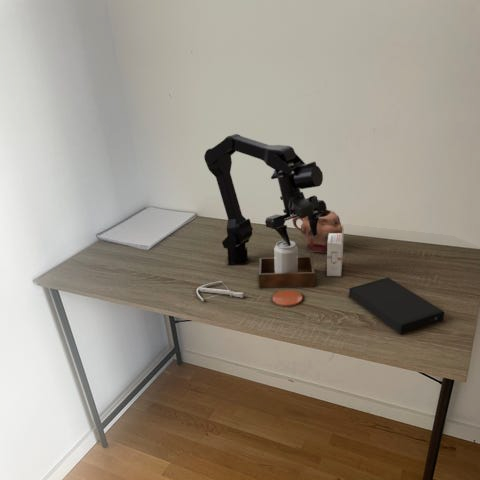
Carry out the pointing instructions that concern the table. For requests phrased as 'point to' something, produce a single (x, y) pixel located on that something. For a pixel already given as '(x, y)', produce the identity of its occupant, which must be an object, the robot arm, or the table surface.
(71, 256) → the table surface
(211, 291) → the crossbow
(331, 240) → the ink cartridge box
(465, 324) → the table surface
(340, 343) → the table surface
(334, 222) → the decorative planter
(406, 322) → the external hard drive
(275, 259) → the can
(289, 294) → the coaster
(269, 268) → the wooden tray
